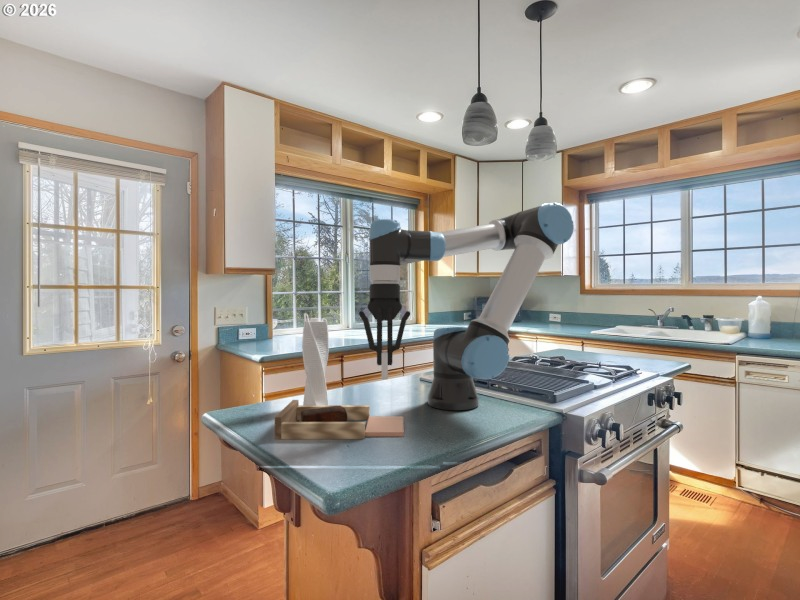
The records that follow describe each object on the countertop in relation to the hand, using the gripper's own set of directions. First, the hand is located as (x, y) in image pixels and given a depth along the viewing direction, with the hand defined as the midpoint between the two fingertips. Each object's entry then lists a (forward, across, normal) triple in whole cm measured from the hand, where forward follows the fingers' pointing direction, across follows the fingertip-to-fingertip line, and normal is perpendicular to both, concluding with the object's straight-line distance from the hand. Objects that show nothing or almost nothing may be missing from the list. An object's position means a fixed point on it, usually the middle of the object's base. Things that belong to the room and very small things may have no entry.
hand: (384, 378), depth 106 cm
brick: (+13, +14, -1) cm, 19 cm away
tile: (+12, 0, 0) cm, 12 cm away
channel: (+12, +14, 0) cm, 19 cm away
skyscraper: (+13, +21, -18) cm, 30 cm away
